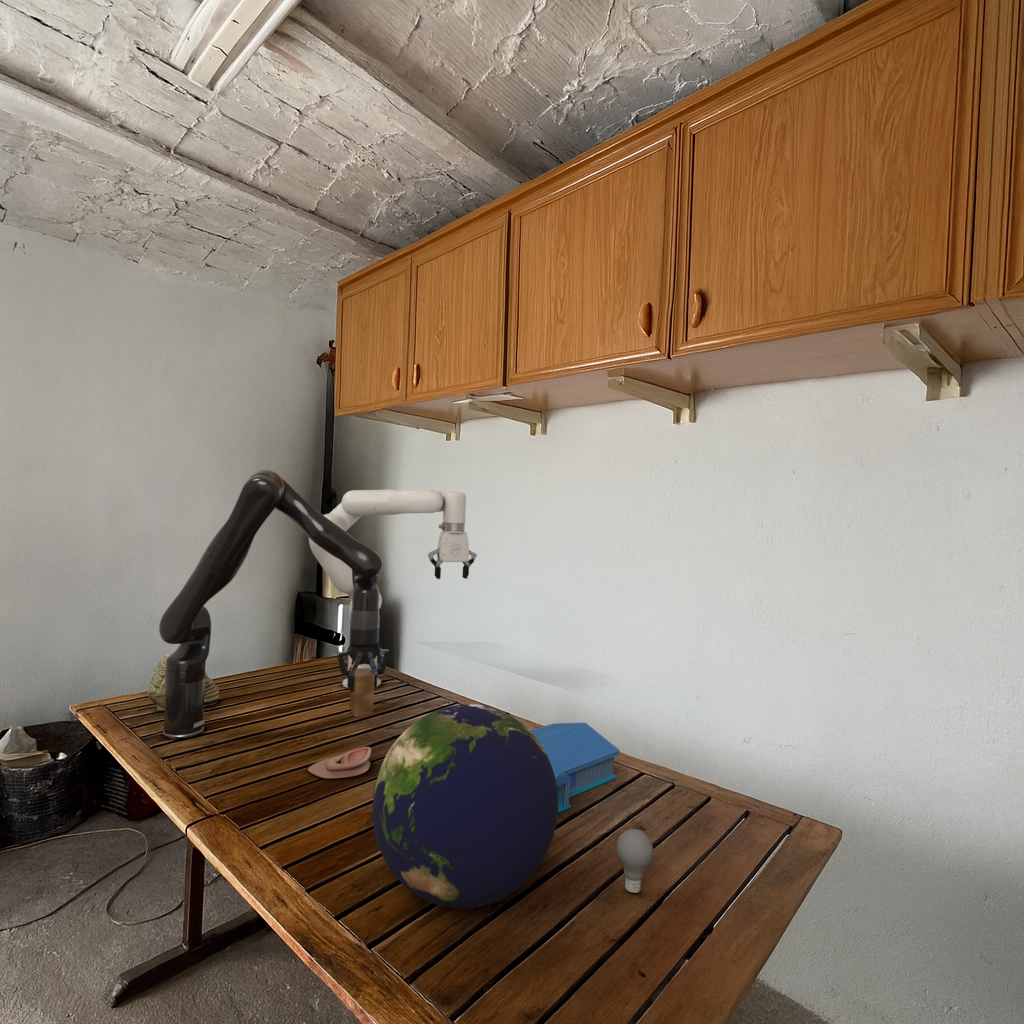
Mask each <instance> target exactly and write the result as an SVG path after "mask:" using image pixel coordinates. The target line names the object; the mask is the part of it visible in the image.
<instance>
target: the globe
mask: <svg viewBox="0 0 1024 1024" xmlns="http://www.w3.org/2000/svg"><path fill="white" fill-rule="evenodd" d="M530 730H531V729H529V728H527V726H525V725H524V724H523V723H522V722H520V721H519V720H518V719H516V718H515V717H514V716H512V715H510V714H509V713H506V712H504V711H502V710H499V709H497V708H494V707H491V706H487V705H482V704H478V703H477V704H475V703H468V704H467V703H466V704H465V703H464V704H455V705H450V706H449V705H448V706H445V707H442V708H439V709H437V710H434V711H432V712H429V713H428V714H425V715H424V716H422V717H420V719H417V720H416V721H415V722H413V723H412V724H411V725H410V726H408V727H407V728H406V729H405V730H404V731H403V732H402V734H401V735H400V736H398V737H397V738H396V740H395V741H394V742H393V744H392V745H391V747H390V748H389V749H388V751H387V753H386V755H385V757H384V760H383V761H382V763H381V765H380V768H379V771H378V774H377V776H376V781H375V784H374V789H373V796H372V804H371V805H372V807H371V809H372V824H373V829H374V836H375V839H376V843H377V846H378V849H379V852H380V853H381V856H382V858H383V860H384V861H385V863H386V865H387V866H388V868H389V871H391V873H392V874H393V875H394V876H395V878H396V879H397V880H398V881H399V882H400V883H401V884H402V885H403V886H404V887H405V888H406V889H407V890H409V891H410V892H411V893H413V895H415V896H417V897H419V898H421V899H422V900H425V901H426V902H429V903H431V904H434V905H437V906H440V907H444V908H448V909H457V910H465V909H466V910H467V909H469V910H470V909H477V908H481V907H486V906H489V905H492V904H494V903H497V902H499V901H502V900H504V899H505V898H508V896H510V895H512V894H513V893H515V892H516V891H518V890H519V889H520V888H521V887H523V885H524V884H526V883H527V882H528V880H530V879H531V878H532V877H533V875H534V874H535V873H536V871H537V870H538V869H539V867H540V866H541V865H542V862H543V861H544V859H545V857H546V855H547V854H548V851H549V849H550V847H551V844H552V842H553V839H554V836H555V832H556V829H557V828H556V827H557V822H558V816H559V813H558V791H557V784H556V779H555V775H554V772H553V768H552V765H551V763H550V761H549V758H548V756H547V753H546V752H545V750H544V748H543V747H542V745H541V743H540V742H539V741H538V739H537V738H536V737H535V736H534V735H533V734H532V733H531V732H530Z"/></svg>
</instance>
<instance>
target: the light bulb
mask: <svg viewBox="0 0 1024 1024" xmlns="http://www.w3.org/2000/svg"><path fill="white" fill-rule="evenodd" d="M615 849H616V854H617V857H618V859H619V861H620V863H621V865H622V867H623V873H624V874H623V875H624V876H625V878H624V888H625V890H627V891H628V892H630V893H634V894H635V893H639V892H640V891H641V889H642V887H641V886H642V879H643V877H644V875H645V871H646V868H647V867H648V866H649V864H650V863H651V861H652V859H653V855H654V847H653V843H652V841H651V838H649V836H648V835H647V834H646V833H645V832H643V831H642V830H641V829H636V828H629V829H627V830H625V831H623V832H622V833H621V834H620V835H619V837H618V839H617V841H616V847H615Z"/></svg>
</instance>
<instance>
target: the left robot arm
mask: <svg viewBox="0 0 1024 1024" xmlns="http://www.w3.org/2000/svg"><path fill="white" fill-rule="evenodd" d="M275 510H277V511H279V512H281V513H282V514H284V515H285V516H286V517H288V518H289V519H290V520H291V521H292V522H294V523H295V524H296V525H297V527H298V528H300V530H301V531H302V532H303V533H304V534H305V535H306V536H307V538H308V539H309V538H310V539H311V540H312V541H313V542H314V543H315V544H317V545H318V546H319V547H321V548H322V549H324V550H325V551H326V552H328V553H329V554H331V555H332V556H334V557H336V558H338V559H340V560H341V561H342V562H344V563H345V564H346V565H348V566H349V567H350V568H351V569H352V581H353V594H352V611H351V617H350V640H349V639H348V648H347V649H346V650H343V651H339V650H338V651H337V652H336V657H337V661H338V666H339V669H340V673H341V674H342V676H344V677H345V676H346V677H347V678H348V685H347V686H348V688H347V689H348V690H349V692H350V691H354V677H353V676H354V674H355V671H356V669H357V668H358V665H362V664H369V666H370V669H371V671H372V673H373V674H374V675H375V678H374V687H376V686H377V678H378V675H380V674H383V673H385V671H386V667H387V665H388V661H389V658H390V655H391V652H390V650H389V649H387V648H385V649H383V648H381V647H380V643H379V642H380V641H379V639H380V619H381V618H380V609H379V593H380V589H379V587H378V577H379V574H381V572H382V570H383V565H384V563H383V559H382V558H381V556H380V554H378V553H377V552H376V551H375V550H372V549H371V548H369V547H368V546H367V545H365V544H363V543H362V542H360V541H358V540H357V539H355V538H354V537H353V536H352V535H351V534H350V533H348V532H347V531H345V530H343V529H342V528H340V527H339V526H338V525H336V524H335V523H333V522H332V521H331V520H329V519H328V518H326V517H325V516H324V515H325V514H322V513H321V512H320V511H319V510H317V508H315V507H314V506H313V505H312V504H310V503H309V502H308V501H307V500H306V499H304V498H303V497H302V496H301V495H300V494H299V493H298V492H297V491H296V490H295V489H294V488H293V487H292V486H291V485H290V484H289V483H288V482H287V481H286V480H285V479H284V478H283V477H282V476H281V475H280V474H278V473H277V472H275V471H273V470H269V469H261V470H258V471H255V472H253V473H252V475H251V476H250V477H249V478H248V479H247V480H246V481H245V483H243V486H242V488H241V490H240V492H239V495H238V497H237V500H236V502H235V505H234V507H233V509H232V511H231V513H230V515H229V517H228V519H227V520H226V521H225V523H224V524H223V525H222V527H220V529H219V530H218V531H217V533H216V534H215V535H214V536H213V538H212V540H211V541H210V542H209V544H208V545H207V547H206V549H205V550H204V552H203V554H202V556H200V559H199V561H198V563H197V564H196V566H195V568H194V570H193V571H192V573H191V574H190V576H189V577H188V579H187V581H185V584H184V585H183V587H182V588H181V590H180V592H178V594H177V596H176V597H175V598H174V599H173V601H172V602H171V603H170V605H168V607H167V608H166V609H165V611H164V613H163V615H162V616H161V618H160V621H159V625H158V632H159V636H160V638H161V640H162V641H163V642H165V643H166V644H170V645H178V647H177V648H176V649H175V650H174V652H172V653H170V654H169V655H170V656H169V657H168V658H167V660H166V674H165V705H164V710H163V730H162V737H164V738H166V739H169V740H185V739H190V738H191V739H192V738H194V737H197V736H199V735H202V734H203V732H204V730H205V729H204V727H205V725H204V724H205V706H204V693H205V672H206V664H207V663H206V662H207V659H208V657H209V654H210V647H211V639H212V637H211V636H212V617H211V614H210V612H209V610H208V609H207V608H206V607H205V605H206V604H207V603H208V602H209V601H210V600H211V599H212V598H214V596H216V595H217V594H219V593H220V592H221V591H222V590H223V589H224V588H226V586H228V585H229V584H230V583H231V582H232V580H233V579H234V578H235V577H236V575H237V574H238V572H239V571H240V569H241V568H242V566H243V564H244V563H245V560H246V559H247V557H248V555H249V552H250V551H251V548H252V545H253V542H254V540H255V537H256V535H257V533H258V532H259V530H260V529H261V527H262V526H263V525H264V523H265V522H266V520H267V519H268V518H269V517H270V515H271V514H272V513H273V512H274V511H275ZM348 655H349V656H350V657H351V659H352V661H351V664H350V668H349V670H348V669H347V666H346V662H345V661H346V660H347V656H348ZM378 655H379V656H380V661H379V665H378V666H377V668H376V665H375V661H374V659H375V658H376V657H377V658H378ZM376 688H377V687H376Z"/></svg>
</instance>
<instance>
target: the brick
mask: <svg viewBox="0 0 1024 1024" xmlns="http://www.w3.org/2000/svg"><path fill="white" fill-rule="evenodd" d="M353 677H354V691H350V690H349V709H350V711H351V712H352V714H353V716H354V717H365V716H367V717H368V716H374V699H375V688H374V678H375V675H374V674H373V673H372V671H371V670H370V669H369V668H361V669H356V671H355V674H354V676H353Z"/></svg>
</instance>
